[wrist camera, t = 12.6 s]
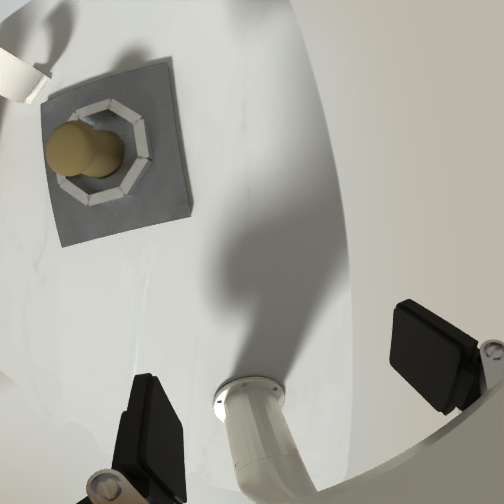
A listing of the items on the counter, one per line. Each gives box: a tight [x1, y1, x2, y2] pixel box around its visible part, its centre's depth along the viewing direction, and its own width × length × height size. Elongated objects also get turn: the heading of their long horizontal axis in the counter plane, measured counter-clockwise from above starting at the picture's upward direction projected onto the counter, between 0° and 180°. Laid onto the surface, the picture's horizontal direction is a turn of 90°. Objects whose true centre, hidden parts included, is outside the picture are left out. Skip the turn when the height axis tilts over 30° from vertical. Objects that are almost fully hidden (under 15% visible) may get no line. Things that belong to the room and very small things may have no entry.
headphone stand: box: [0, 48, 51, 106], centre depth 19 cm, size 5×6×12 cm
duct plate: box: [41, 62, 191, 248], centre depth 28 cm, size 20×18×4 cm
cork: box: [46, 120, 125, 179], centre depth 23 cm, size 6×6×11 cm
